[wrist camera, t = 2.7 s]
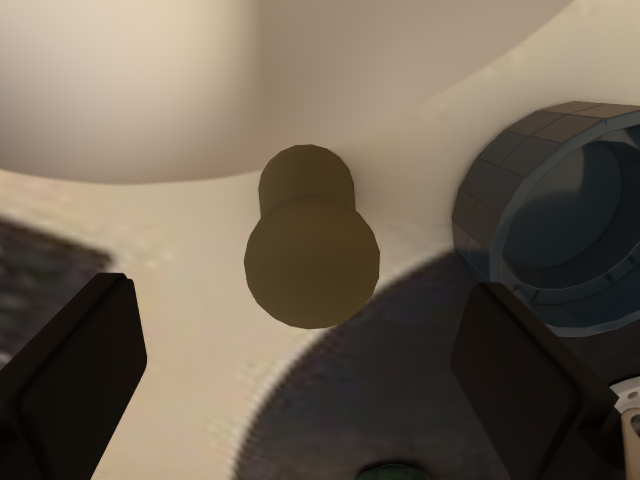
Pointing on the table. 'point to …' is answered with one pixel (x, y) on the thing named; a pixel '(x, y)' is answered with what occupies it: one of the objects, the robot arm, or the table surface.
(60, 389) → the robot arm
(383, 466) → the coffee jar
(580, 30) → the table surface
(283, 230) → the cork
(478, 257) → the bowl
